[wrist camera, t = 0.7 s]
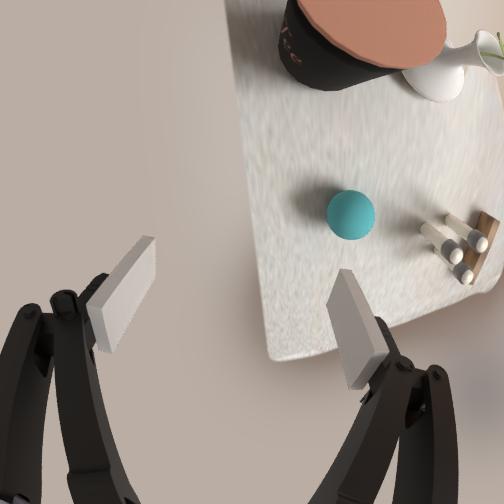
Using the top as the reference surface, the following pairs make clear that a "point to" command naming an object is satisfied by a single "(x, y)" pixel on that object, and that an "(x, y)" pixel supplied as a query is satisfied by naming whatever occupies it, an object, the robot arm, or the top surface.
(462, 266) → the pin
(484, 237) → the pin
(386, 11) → the coffee jar
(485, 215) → the back wall
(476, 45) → the flower in vase
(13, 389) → the robot arm
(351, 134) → the top surface
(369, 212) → the ball
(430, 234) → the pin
